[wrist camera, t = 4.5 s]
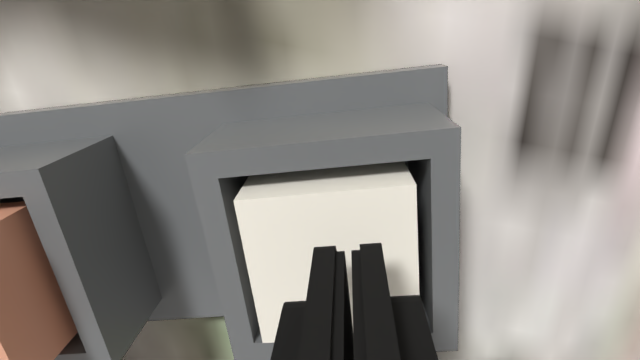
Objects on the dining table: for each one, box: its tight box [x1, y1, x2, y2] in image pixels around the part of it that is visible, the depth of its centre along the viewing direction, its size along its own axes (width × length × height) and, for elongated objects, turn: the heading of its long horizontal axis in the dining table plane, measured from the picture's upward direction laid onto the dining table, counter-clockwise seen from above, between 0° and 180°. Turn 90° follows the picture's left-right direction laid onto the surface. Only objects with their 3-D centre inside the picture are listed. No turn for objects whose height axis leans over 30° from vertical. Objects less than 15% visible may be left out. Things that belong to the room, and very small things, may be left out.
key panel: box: [0, 64, 461, 360], centre depth 15 cm, size 21×10×5 cm, turn 96°
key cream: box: [234, 161, 420, 343], centre depth 13 cm, size 5×5×3 cm
